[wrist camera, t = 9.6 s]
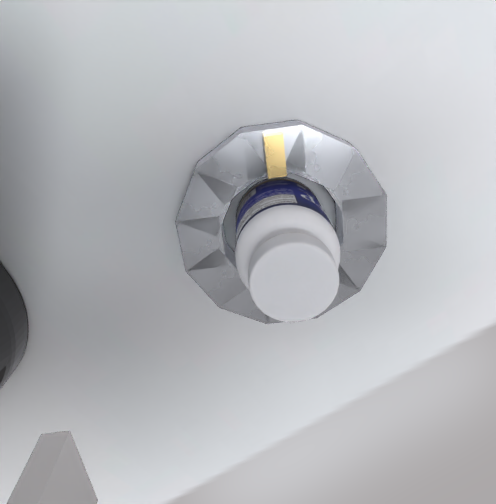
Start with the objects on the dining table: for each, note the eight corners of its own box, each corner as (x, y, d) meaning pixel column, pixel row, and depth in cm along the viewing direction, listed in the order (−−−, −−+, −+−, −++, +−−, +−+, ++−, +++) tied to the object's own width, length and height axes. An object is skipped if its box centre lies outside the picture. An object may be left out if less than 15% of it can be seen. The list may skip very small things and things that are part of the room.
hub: (200, 314, 30) (197, 339, 27) (165, 137, 25) (156, 147, 22) (377, 294, 30) (390, 316, 27) (375, 109, 25) (391, 115, 22)
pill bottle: (332, 235, 28) (371, 310, 20) (257, 268, 29) (264, 352, 20) (300, 160, 26) (329, 208, 18) (220, 197, 27) (212, 259, 18)
